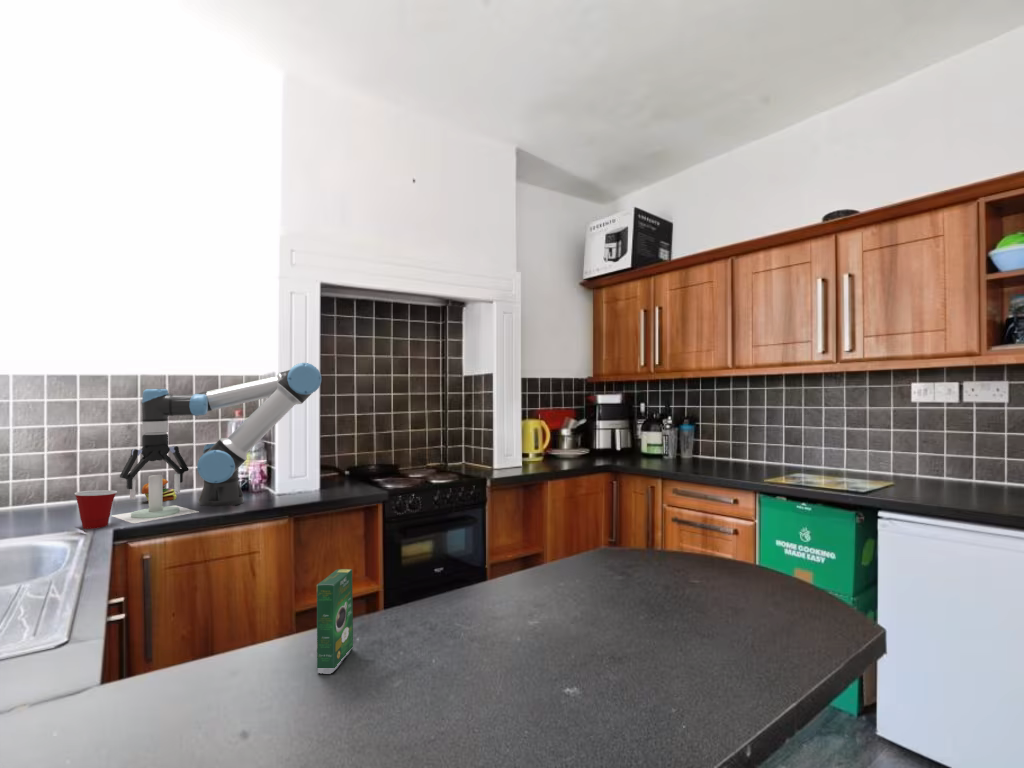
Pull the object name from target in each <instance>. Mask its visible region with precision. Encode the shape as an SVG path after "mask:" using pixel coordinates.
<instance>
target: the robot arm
mask: <svg viewBox="0 0 1024 768" xmlns="http://www.w3.org/2000/svg"><path fill="white" fill-rule="evenodd" d="M321 383H322V374H321V371H320V370H319V368H317V366H315V365H314V364H312V363H309V362H300V363H297V364H295V365H293V366H292V367H291V368H290V369H288V370H285V371H281V372H278V374H277V375H276V376H275V375H274V376H271V377H270V376H269V377H265V378H260V379H256V380H251V381H248V382H244V383H243V382H242V383H238V384H234V385H230V386H225V387H219V388H216V389H212V390H208V391H201V392H197V393H190V394H189V393H188V394H185V393H183V394H170V393H169V390H168V389H167V388H146V389H144V390H143V391H142V401H141V412H142V413H141V414H142V415H141V416H142V417H141V418H142V420H141V421H142V422H141V423H142V424H141V426H142V427H141V431H142V434H143V435H142V437H141V441H142V443H141V444H142V445H141V446H142V448H141V449H136V448H134V449H133V448H132V449H131V450H130V456H129V458H128V460H127V462H126V463H125V465H124V467H123V469H122V471H121V473H120V474H119V478H120V479H123V480H124V479H125V480H126V489H127V490H129V499H131V500H136V493H137V491H136V489H137V487H136V483H137V481H136V479H135V476H136V475H137V474H138V473H139V472H140V471H141V470H142V469H143V467H144V466H145V465H146V464H147V463H148V462H156V461H159V462H161V461H164V462H165V463H166V464H167V465H168V466H170V468H172V470H174V471H175V472H176V473H174V475H173V476H174V477H173V478H174V483H173V485H174V486H173V487H174V488H173V489H174V492H175V494H180V493H181V483H183V481H184V480H183V479H184V478H183V477H184V476H183V475H184V473H185V472H188V471H189V467H188V465H187V463H186V462H185V460H184V458H183V457H182V454H181V453H180V448H179V445H177V446H176V445H172V446H169V434H168V432H169V417H176V416H177V417H179V416H180V417H182V416H183V417H185V416H186V417H187V416H194V417H195V416H197V417H198V416H205V415H207V413H208V412H211V411H215V410H220V409H224V408H228V407H232V406H237V405H241V404H246V403H249V402H250V403H251V402H255V401H259V400H262V399H266V398H267V399H266V400H264V401H263V402H262V403H261V405H259V406H258V407H257V408H256V409H255V410H254V411H253V412H252V413H251V414H250V415H249V416H248V417H247V418H246V419H245V420H244V421H243V422H242V423H241V424H240V425H239V426H238V427H237V428H236V429H234V430H233V432H232V433H231V434H230V435H228V437H222V438H220V439H218V440H217V442H215V443H208V444H205V445H204V446H203V450H202V453H203V454H202V455H201V456H200V457H199V459H198V461H197V466H196V467H197V468H196V469H197V473H198V475H199V476H200V478H201V479H203V487H202V490H201V493H200V496H199V498H198V505H199V506H201V507H219V506H229V505H230V506H238V505H241V504H243V503H244V501H245V499H244V493H243V491H242V488H241V486H240V483H239V468H240V467H241V466H242V465H243V464H244V463H245V462H246V461H247V460H248V456H247V454H248V453H249V452H250V451H251V450H252V449H253V448H254V447H255V446H256V445H257V444H258V443H259V442H260V441H261V440H262V439H263V437H265V436H266V434H268V433H269V432H270V431H271V430H272V429H273V428H274V426H275V425H277V424H278V423H279V421H280V420H281V419H283V417H285V415H286V414H287V413H289V412H290V411H291V409H293V408H294V407H295V406H296V405H302V404H303V403H304V402H306V400H308V399H309V397H310V396H311V395H312V394H313V393H315V392H317V390H319V388H320V386H321ZM169 452H171V453H172V455H173V457H174V458H175V460H176V462H177V463H178V464H176V462H175V461H173V459H171V457H170V456H169V455H168V454H169ZM140 455H142V457H141V458H140V460H139V462H138V463H136V461H137V460H138V459H137V458H138V457H139V456H140ZM135 463H136V465H135V466H134V464H135ZM133 466H134V467H133Z"/></svg>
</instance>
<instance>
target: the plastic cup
mask: <svg viewBox="0 0 1024 768" xmlns="http://www.w3.org/2000/svg"><path fill="white" fill-rule="evenodd" d="M117 493H118V491H117V490H111V489H110V490H107V489H106V490H103V489H101V490H100V489H99V490H97V489H96V490H85V491H84V490H83V491H77V492H74V493H73V495H74V496H75V499H76V504H77V506H78V512H79V517H80V521H81V524H82V525H81V526H82V529H83V530H90V529H91V530H94V529H99V528H104V527H107V526H108V525H109V519H110V517H111V511H112V507H113V502H114V500H115V497H116V495H117Z"/></svg>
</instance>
